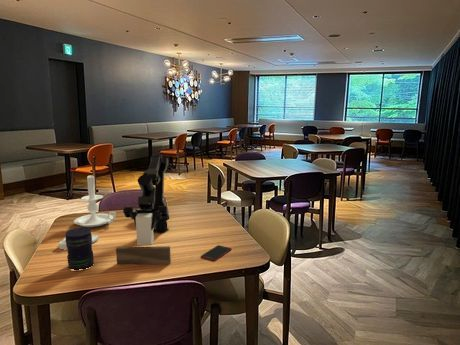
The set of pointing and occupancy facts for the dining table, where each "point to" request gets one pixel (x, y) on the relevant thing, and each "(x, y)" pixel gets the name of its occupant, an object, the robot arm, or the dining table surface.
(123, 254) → the stand
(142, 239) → the off-white cabinet box
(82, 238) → the storage jar
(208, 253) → the cell phone
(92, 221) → the candlestick
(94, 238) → the white brass knuckles
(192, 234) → the dining table surface
